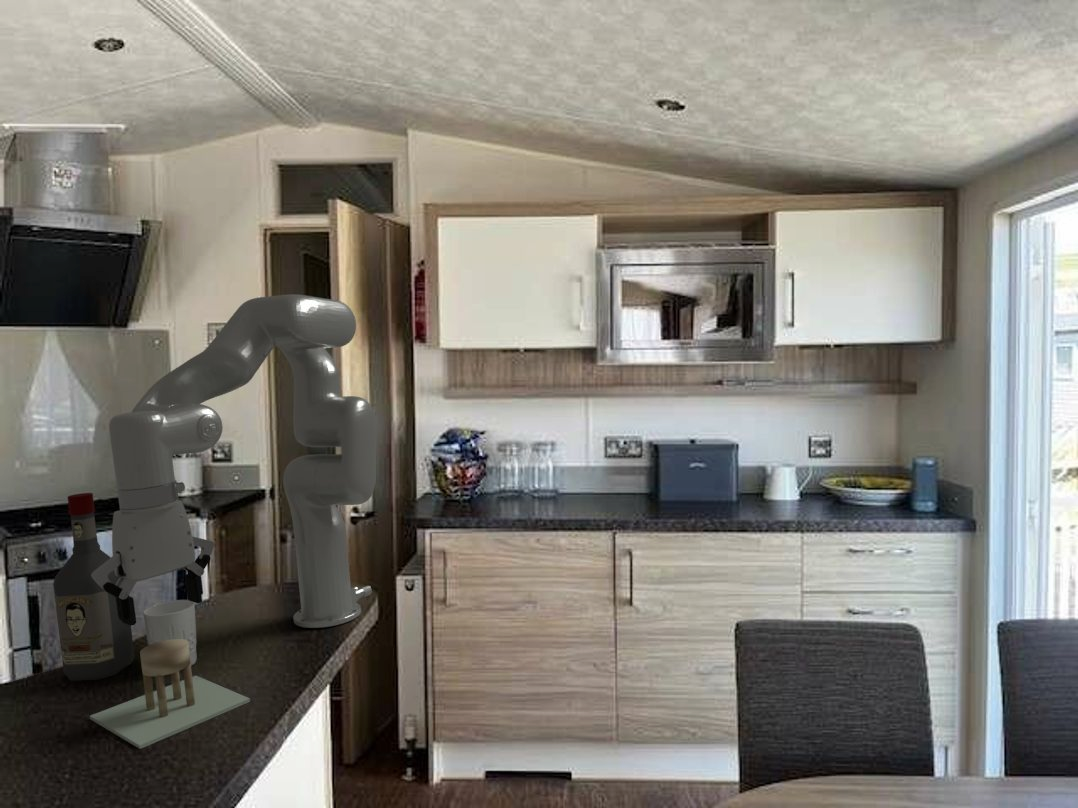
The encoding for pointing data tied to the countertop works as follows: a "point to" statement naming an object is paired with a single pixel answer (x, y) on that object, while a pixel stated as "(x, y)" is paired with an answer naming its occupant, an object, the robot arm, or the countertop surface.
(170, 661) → the round tan stool
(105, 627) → the liquor
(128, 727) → the sage mat
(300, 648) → the countertop surface
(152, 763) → the countertop surface
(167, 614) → the white cup
